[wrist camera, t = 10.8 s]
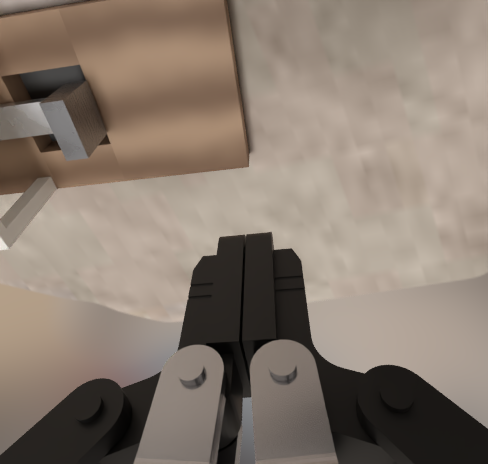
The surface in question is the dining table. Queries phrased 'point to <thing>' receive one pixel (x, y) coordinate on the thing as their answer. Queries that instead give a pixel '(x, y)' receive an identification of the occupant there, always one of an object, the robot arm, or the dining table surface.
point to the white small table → (24, 211)
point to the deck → (127, 89)
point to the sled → (58, 120)
